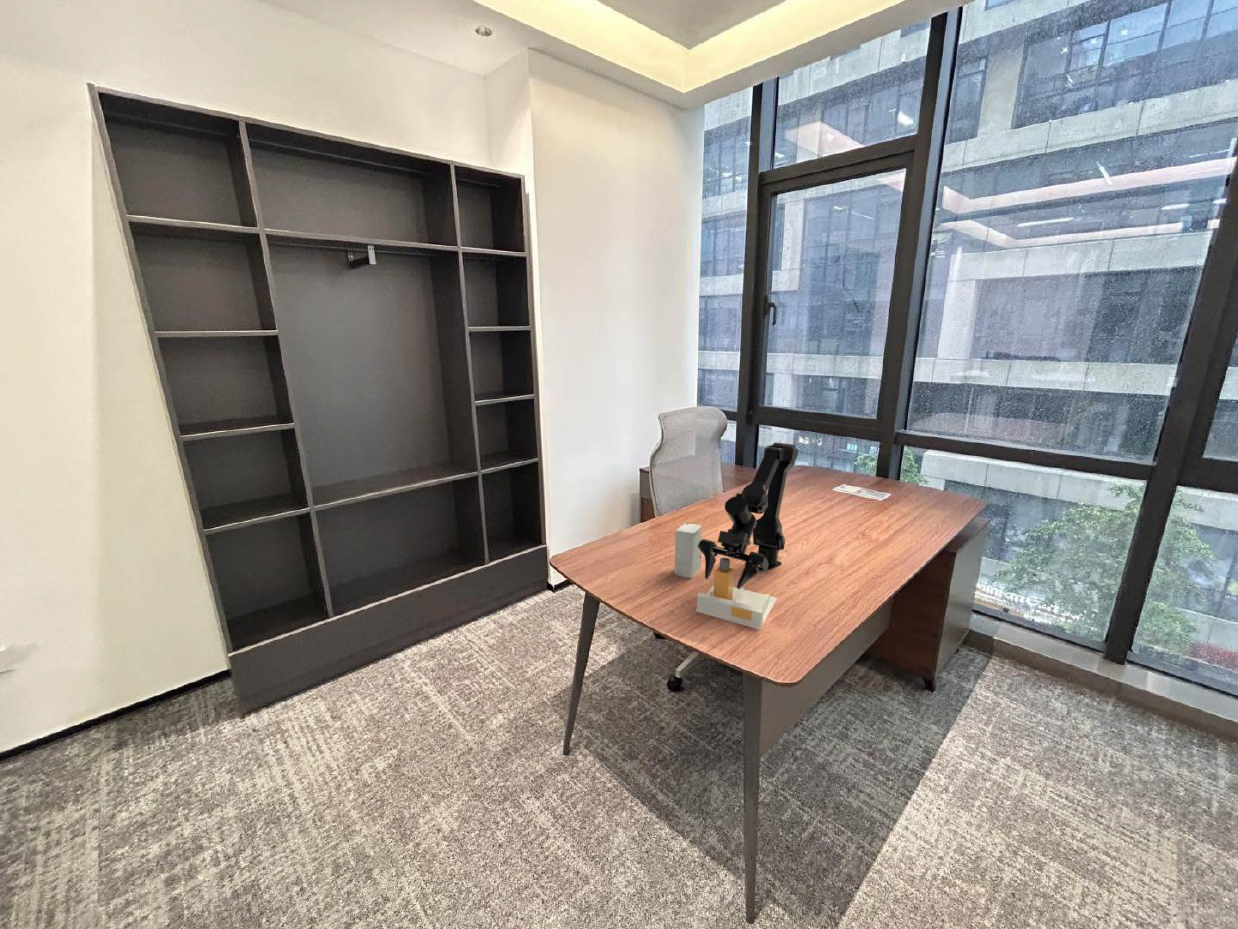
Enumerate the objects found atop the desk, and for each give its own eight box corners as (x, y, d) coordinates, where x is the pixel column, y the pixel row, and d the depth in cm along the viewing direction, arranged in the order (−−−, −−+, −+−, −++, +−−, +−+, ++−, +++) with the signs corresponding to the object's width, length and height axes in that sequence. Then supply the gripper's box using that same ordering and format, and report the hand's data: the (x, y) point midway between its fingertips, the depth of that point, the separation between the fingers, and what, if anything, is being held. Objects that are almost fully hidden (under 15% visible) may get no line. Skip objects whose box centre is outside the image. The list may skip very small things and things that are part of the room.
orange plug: (718, 599, 138) (720, 555, 135) (732, 602, 136) (734, 558, 133) (712, 605, 134) (715, 560, 131) (727, 609, 132) (729, 564, 129)
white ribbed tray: (718, 584, 147) (719, 570, 146) (777, 599, 138) (778, 584, 137) (695, 612, 132) (695, 597, 131) (759, 631, 123) (760, 615, 122)
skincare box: (691, 580, 150) (693, 534, 146) (673, 575, 153) (674, 530, 149) (701, 569, 157) (703, 524, 153) (683, 565, 160) (684, 521, 156)
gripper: (702, 511, 138) (680, 562, 132) (767, 526, 127) (747, 582, 121) (713, 529, 146) (694, 578, 140) (776, 545, 135) (758, 598, 129)
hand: (721, 583), depth 132 cm, fingers open, 9 cm apart
